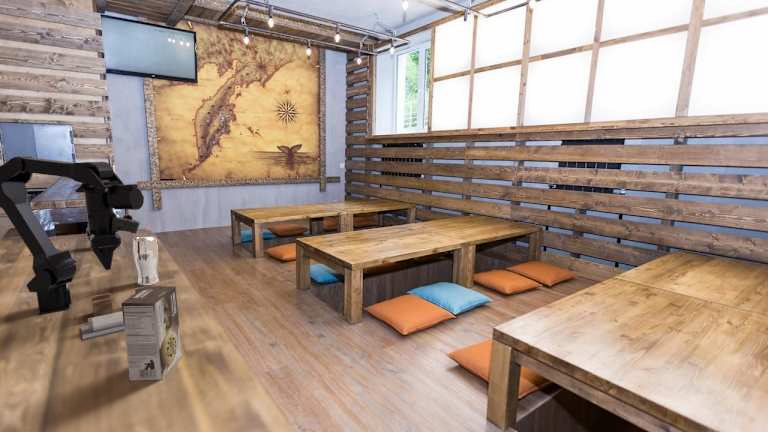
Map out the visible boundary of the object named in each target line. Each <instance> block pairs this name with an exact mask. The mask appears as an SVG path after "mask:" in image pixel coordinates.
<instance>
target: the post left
mask: <svg viewBox="0 0 768 432" xmlns="http://www.w3.org/2000/svg"><path fill="white" fill-rule="evenodd" d="M91 304H92V305H91V306H92V314H93V317H98V316H103V315H107V314H112V313H114V310H113V309H114V308H113V299H112V297H111V293H110V292H108V293H103V294H102V293H101V294H98V295H96V294H95V295H91Z"/></svg>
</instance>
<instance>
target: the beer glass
mask: <svg viewBox="0 0 768 432" xmlns="http://www.w3.org/2000/svg"><path fill="white" fill-rule="evenodd" d="M157 241H158V240H157V237H156V236H141V237H140V236H139V237H136V238H133V239H132V253H133V259H134V262H135V265H136V269H137V272H138V273H137V274H138V278H137V285H139V286H150V285H151V286H153V285H155V284H158V283H159V282H160V279H159V275H158V262H159V247H158V242H157Z"/></svg>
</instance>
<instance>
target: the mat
mask: <svg viewBox="0 0 768 432" xmlns="http://www.w3.org/2000/svg"><path fill="white" fill-rule="evenodd" d="M80 330H81V331H80V332H81V336H82V341H85V340H90V339H94V338H98V337H103V336H107V335H111V334H114V333H115V334H116V333H119V332H125V331H124V325H120V326H115V327H111V328H107V329H103V330H98V331H94V332H91V333H90V332H89V326H88V324H87V325H82V326H81V325H80Z"/></svg>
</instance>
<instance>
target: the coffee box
mask: <svg viewBox="0 0 768 432" xmlns="http://www.w3.org/2000/svg"><path fill="white" fill-rule="evenodd" d="M143 287H144V288H142V289H141V290H139V291H138V292H136V293H135V292H134V294H132V295H131V296H129V297H128V298H126V300H124V301H123V302H121V311H122V313H123V322H124V331H123V332H124V337H125V338H124V339H125V348H126V349H125V350H126V357H127V358H126V359H127V364H128V365H127V368H128V377H129V380H130V382H131V381H161V380H164V378H165V377H166V376H167V374H168V373H169V372H170V371H171V370H172V368H173V367H174V366H175V365H176V363H177V362H178V361H179V360H180V358H181V357H182V355H183V353H182V344H181V332H180V321H179V320H180V319H179V309H178V300H177V299H178V298H177V290H176V285H174V286H171V285H170V286H165V285H151V286H150V285H144V286H143Z"/></svg>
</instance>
